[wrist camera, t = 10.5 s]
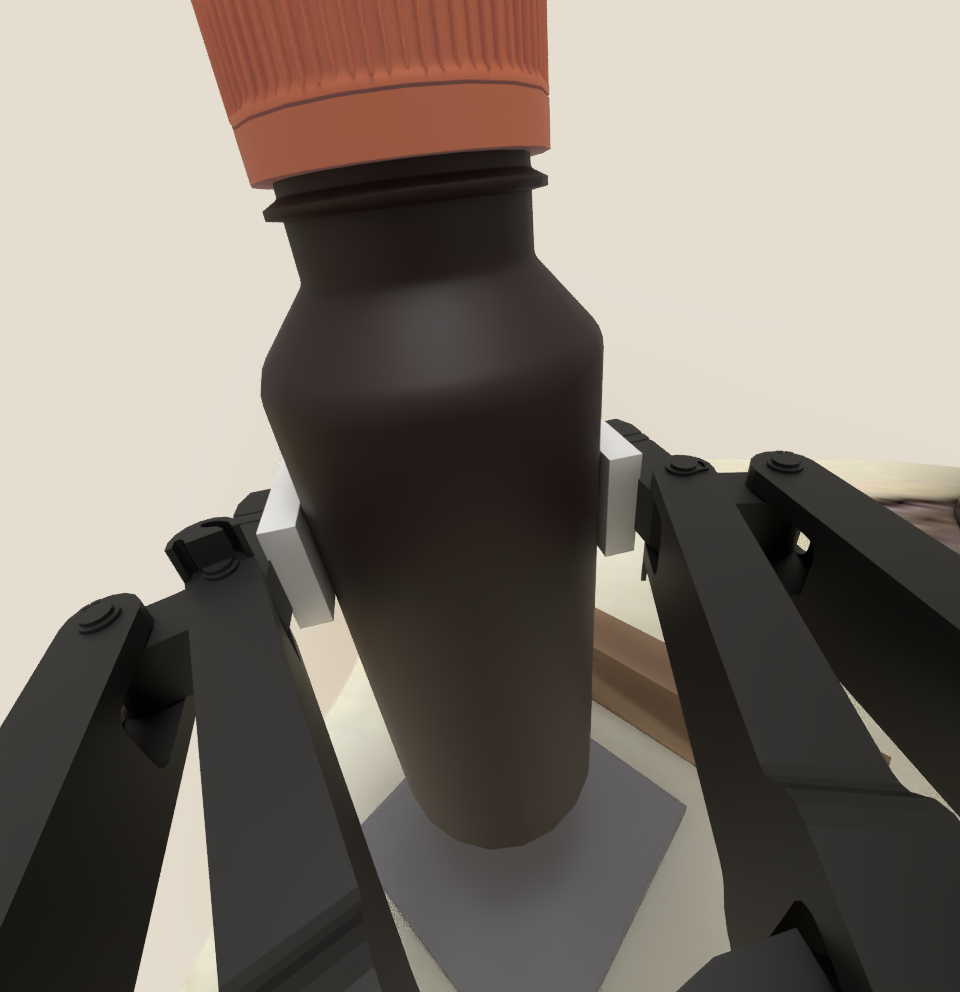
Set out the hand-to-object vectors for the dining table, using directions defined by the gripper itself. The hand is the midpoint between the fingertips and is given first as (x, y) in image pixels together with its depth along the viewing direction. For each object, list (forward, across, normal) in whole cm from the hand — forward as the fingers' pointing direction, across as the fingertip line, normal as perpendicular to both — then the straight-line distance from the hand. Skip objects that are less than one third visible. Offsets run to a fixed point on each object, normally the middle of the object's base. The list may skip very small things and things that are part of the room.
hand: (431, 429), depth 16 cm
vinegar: (-5, 0, -11) cm, 12 cm away
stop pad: (-5, 0, -18) cm, 19 cm away
